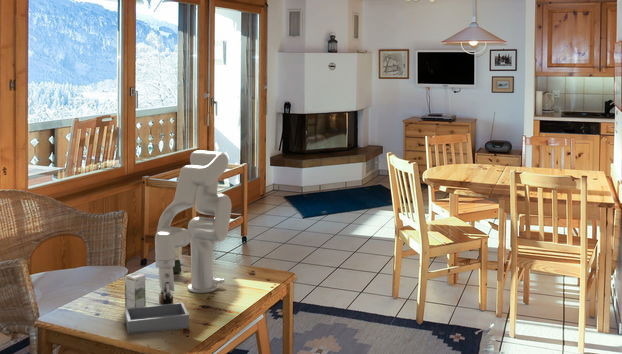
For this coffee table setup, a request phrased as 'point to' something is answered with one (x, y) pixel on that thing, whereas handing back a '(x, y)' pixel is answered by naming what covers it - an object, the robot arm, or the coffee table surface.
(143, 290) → the syrup box
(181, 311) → the tote
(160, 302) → the walnut cube
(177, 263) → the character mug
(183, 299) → the coffee table surface
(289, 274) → the coffee table surface
